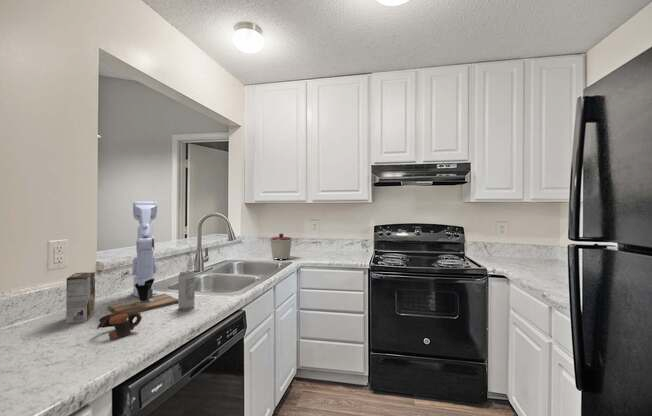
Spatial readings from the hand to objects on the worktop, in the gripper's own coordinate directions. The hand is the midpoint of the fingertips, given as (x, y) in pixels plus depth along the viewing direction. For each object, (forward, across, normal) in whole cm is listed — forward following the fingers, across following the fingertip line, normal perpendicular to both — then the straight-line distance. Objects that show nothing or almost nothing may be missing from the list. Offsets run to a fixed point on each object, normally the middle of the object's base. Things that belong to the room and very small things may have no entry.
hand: (144, 298), depth 127 cm
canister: (+3, -98, +78) cm, 125 cm away
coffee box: (+3, +10, -19) cm, 21 cm away
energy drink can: (+3, +9, +17) cm, 19 cm away
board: (+3, 0, 0) cm, 3 cm away
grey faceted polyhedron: (0, 0, 0) cm, 0 cm away
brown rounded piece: (+3, +30, -1) cm, 30 cm away
